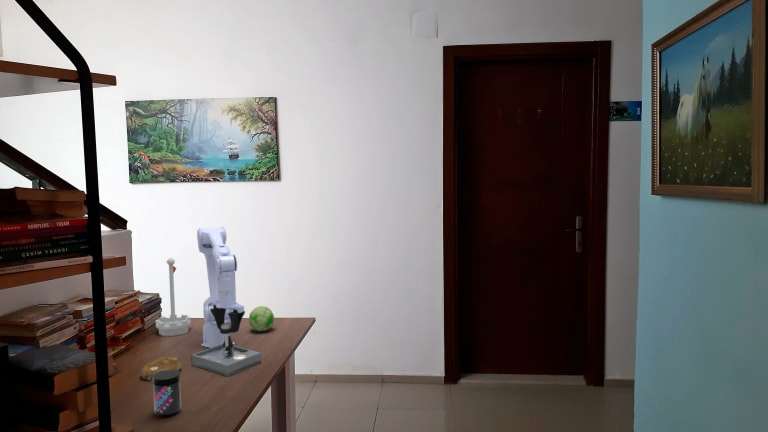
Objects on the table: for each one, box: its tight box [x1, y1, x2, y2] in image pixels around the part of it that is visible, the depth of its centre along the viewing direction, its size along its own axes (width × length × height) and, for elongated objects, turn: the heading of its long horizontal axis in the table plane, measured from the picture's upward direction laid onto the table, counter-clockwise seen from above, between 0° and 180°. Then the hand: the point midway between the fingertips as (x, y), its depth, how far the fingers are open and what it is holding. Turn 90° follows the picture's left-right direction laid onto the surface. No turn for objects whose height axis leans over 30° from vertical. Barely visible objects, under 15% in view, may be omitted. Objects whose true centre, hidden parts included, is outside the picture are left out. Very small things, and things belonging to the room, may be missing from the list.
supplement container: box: [152, 370, 182, 418], centre depth 141 cm, size 7×7×10 cm
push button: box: [219, 322, 234, 356], centre depth 178 cm, size 7×5×10 cm
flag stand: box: [155, 257, 192, 337], centre depth 210 cm, size 13×13×30 cm
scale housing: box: [190, 344, 262, 377], centre depth 176 cm, size 18×14×4 cm
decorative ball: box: [248, 305, 275, 332], centre depth 211 cm, size 10×10×10 cm
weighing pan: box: [200, 347, 245, 362], centre depth 177 cm, size 12×12×1 cm
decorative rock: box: [139, 356, 183, 383], centre depth 169 cm, size 11×4×15 cm
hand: (228, 329), depth 179 cm, fingers open, 7 cm apart
